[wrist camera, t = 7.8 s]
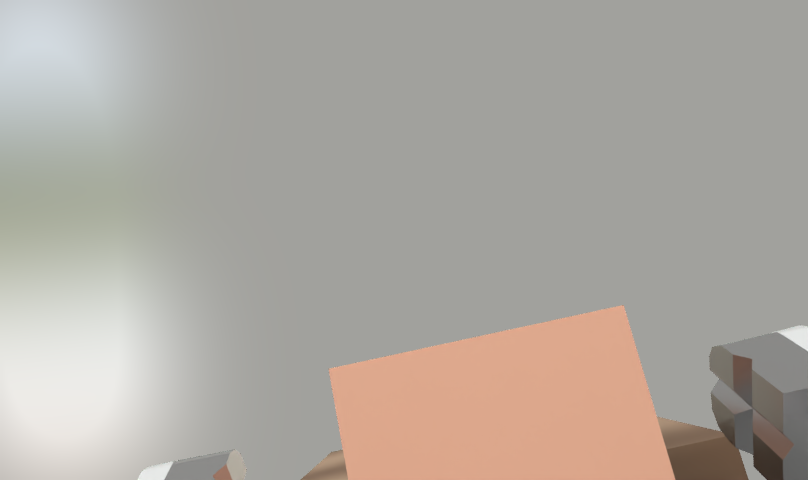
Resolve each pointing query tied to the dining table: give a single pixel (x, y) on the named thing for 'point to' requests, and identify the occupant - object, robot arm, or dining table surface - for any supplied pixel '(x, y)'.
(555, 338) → the white stick tan end
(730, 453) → the walnut stand
